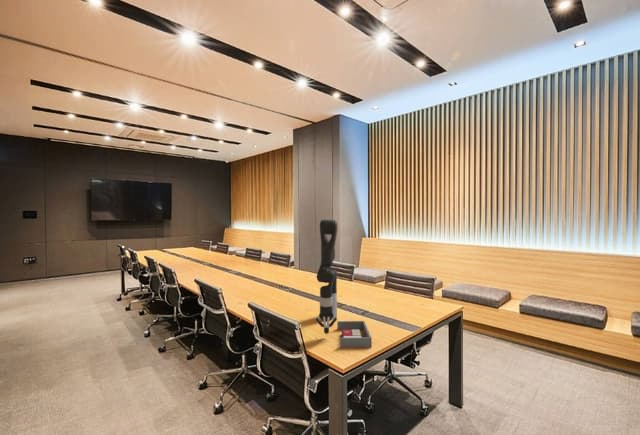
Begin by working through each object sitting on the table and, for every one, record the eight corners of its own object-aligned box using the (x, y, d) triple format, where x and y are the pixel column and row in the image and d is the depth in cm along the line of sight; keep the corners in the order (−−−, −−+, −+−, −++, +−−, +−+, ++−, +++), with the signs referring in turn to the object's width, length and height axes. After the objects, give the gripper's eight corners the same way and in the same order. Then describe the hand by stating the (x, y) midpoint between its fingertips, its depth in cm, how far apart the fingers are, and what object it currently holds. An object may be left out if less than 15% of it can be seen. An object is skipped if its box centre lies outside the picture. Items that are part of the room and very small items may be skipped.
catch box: (337, 329, 189) (337, 321, 189) (364, 328, 189) (364, 320, 189) (340, 347, 163) (340, 338, 163) (371, 347, 163) (371, 338, 163)
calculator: (360, 328, 181) (362, 337, 166) (360, 336, 180) (362, 345, 165) (341, 328, 181) (342, 337, 166) (341, 336, 181) (342, 345, 166)
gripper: (336, 302, 179) (337, 330, 180) (314, 302, 179) (315, 331, 180) (337, 306, 172) (338, 336, 172) (314, 306, 172) (315, 336, 172)
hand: (326, 333), depth 176 cm, fingers closed
